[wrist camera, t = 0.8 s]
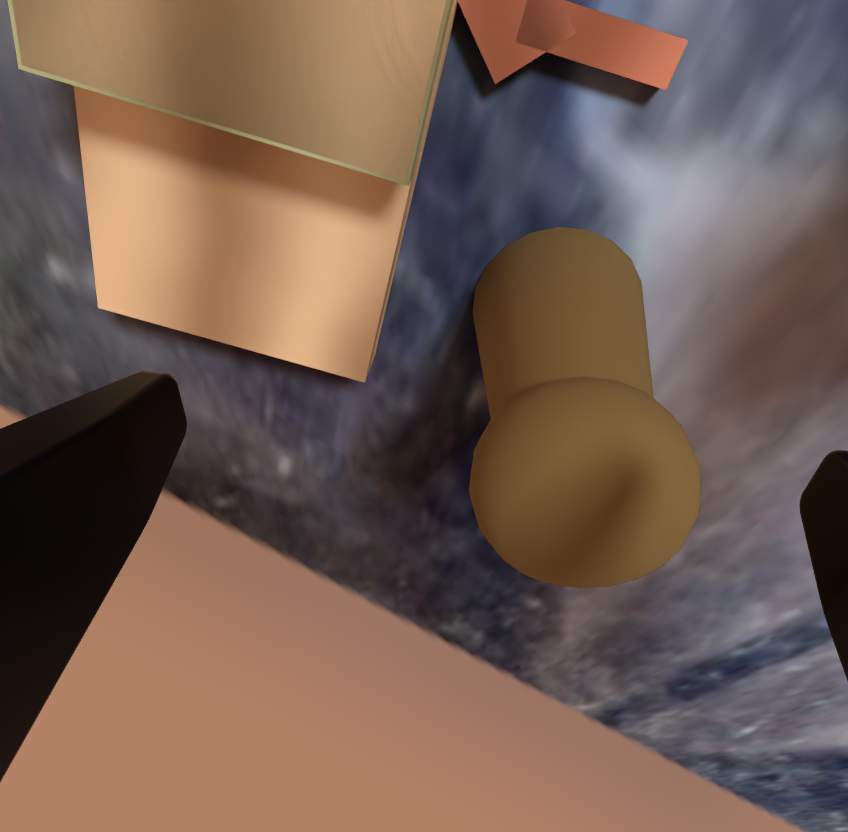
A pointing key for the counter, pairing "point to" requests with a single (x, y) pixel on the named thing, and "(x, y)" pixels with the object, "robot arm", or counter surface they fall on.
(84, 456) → the robot arm
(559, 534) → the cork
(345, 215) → the tan piece
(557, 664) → the counter surface
